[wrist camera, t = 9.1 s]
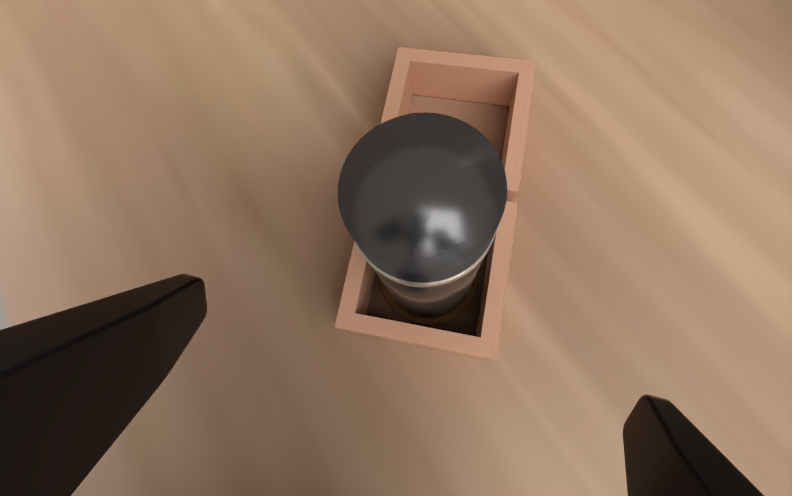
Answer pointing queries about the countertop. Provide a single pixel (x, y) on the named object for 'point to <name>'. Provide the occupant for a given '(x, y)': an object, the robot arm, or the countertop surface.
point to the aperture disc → (439, 319)
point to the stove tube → (423, 207)
